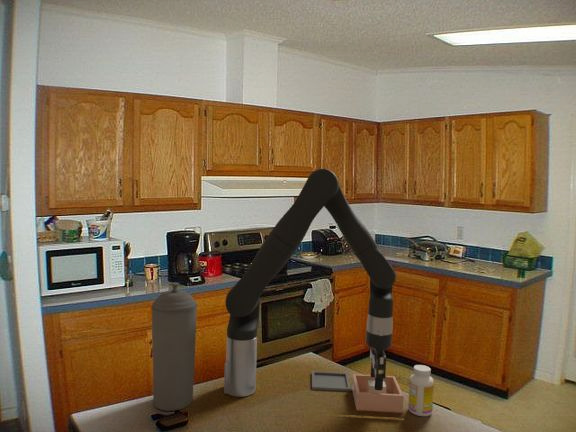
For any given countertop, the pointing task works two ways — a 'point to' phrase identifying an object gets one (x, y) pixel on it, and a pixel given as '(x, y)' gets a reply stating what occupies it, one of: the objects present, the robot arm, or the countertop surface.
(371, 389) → the cream rectangular block
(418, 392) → the supplement bottle
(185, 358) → the canister
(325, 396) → the countertop surface
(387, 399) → the bin
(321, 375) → the tray
